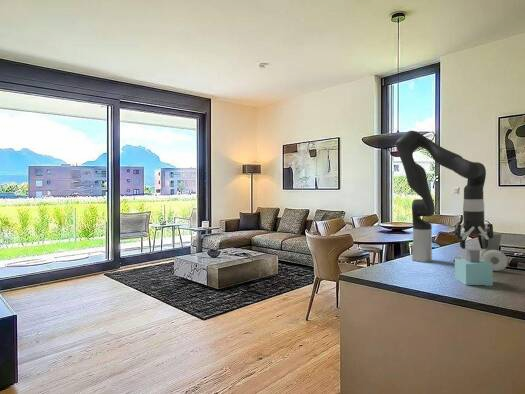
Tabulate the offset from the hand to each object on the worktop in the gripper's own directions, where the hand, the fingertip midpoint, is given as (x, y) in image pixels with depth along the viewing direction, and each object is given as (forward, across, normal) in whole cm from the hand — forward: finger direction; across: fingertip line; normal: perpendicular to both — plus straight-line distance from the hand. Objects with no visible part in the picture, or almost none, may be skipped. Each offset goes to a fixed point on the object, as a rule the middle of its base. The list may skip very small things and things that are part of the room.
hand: (473, 248), depth 146 cm
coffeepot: (+15, +26, +38) cm, 48 cm away
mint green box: (+14, -1, 0) cm, 14 cm away
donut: (+15, +18, +19) cm, 30 cm away
